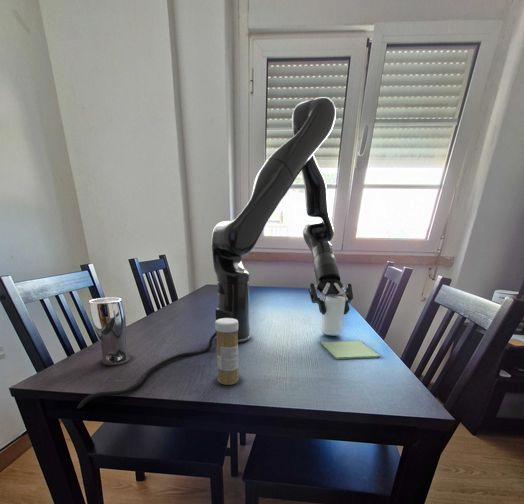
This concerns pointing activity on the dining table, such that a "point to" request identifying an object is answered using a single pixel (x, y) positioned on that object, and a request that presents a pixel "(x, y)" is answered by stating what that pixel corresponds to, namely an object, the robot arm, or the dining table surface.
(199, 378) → the dining table surface
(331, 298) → the can
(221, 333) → the sprinkles bottle
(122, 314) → the beer glass
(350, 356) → the can mat
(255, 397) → the dining table surface
